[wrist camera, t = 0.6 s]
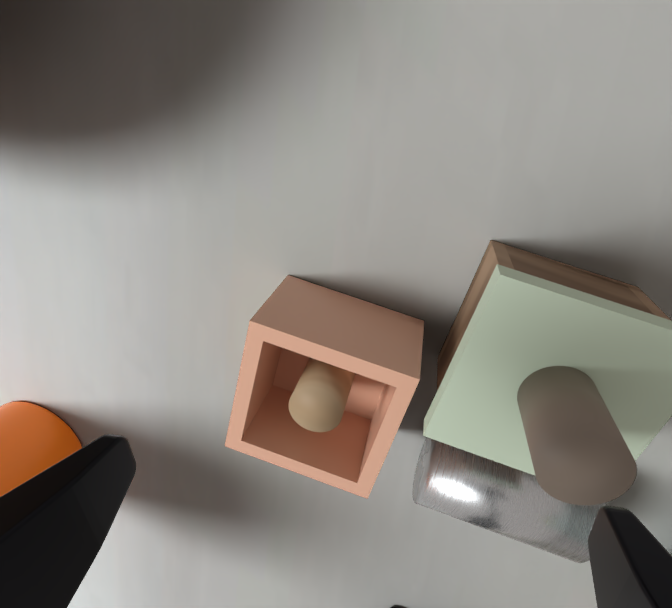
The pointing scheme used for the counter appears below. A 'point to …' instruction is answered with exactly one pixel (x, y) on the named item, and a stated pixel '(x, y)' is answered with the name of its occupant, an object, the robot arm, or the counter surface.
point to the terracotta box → (338, 350)
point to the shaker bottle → (31, 442)
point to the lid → (557, 386)
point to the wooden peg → (320, 396)
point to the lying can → (501, 500)
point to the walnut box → (540, 269)
